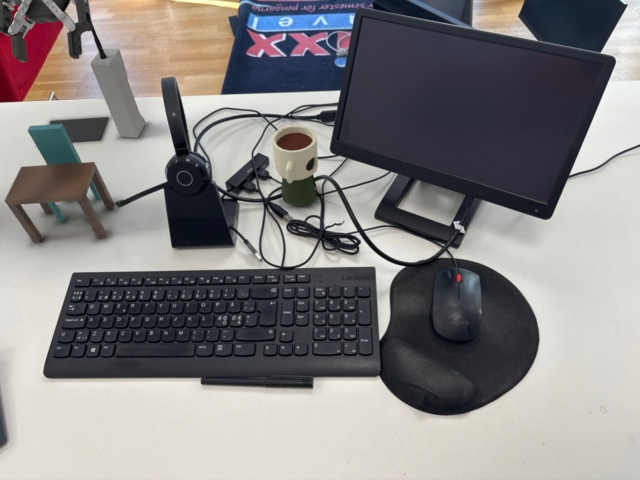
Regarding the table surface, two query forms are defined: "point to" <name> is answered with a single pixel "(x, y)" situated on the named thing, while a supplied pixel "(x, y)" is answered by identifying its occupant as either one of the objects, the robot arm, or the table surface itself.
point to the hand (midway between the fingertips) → (48, 59)
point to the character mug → (296, 163)
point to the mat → (83, 128)
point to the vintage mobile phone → (117, 90)
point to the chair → (56, 152)
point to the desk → (57, 192)
